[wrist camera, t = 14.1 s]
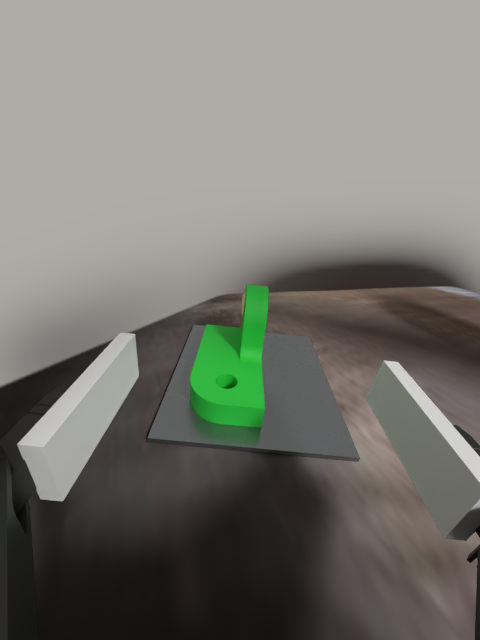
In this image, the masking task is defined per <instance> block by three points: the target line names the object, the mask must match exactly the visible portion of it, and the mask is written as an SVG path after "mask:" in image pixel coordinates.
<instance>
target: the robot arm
mask: <svg viewBox="0 0 480 640" xmlns="http://www.w3.org/2000/svg"><path fill="white" fill-rule="evenodd" d="M138 377H139V371H138V361H137V350H136V339H135V334H130V333H120V334H118V336H117V337H116V338H115V339H114V340H113V341H112V342H111V343H110V344H109V345H108V346H107V347H106V349H105V350H104V351H103V352H102V353H101V354H100V355H99V356H98V357H97V358H96V359H95V360H94V362H93V363H92V364H91V365H90V366H89V367H88V368H87V369H86V370H85V371H84V372H83V373H82V375H81V376H80V377H79V378H78V379H77V380H76V381H75V382H74V383H73V384H72V385H71V386H63V385H60V386H59V387H57V388H55V389H53V390H52V391H50V392H48V393H47V394H46V395H45V396H44V397H43V398H42V399H41V400H40V401H39V402H38V403H37V405H36V406H34V407H33V408H32V409H31V410H30V411H29V412H28V414H26V415H25V416H24V417H23V418H22V419H21V420H20V421H19V422H18V423H17V424H16V425H15V426H14V427H13V428H12V429H11V430H10V431H9V432H8V433H6V434H5V435H4V436H3V437H2V438H1V439H0V640H39V632H38V618H37V604H36V590H35V576H34V562H33V548H32V534H31V520H30V506H29V503H28V500H29V498H30V497H31V495H32V494H33V493H34V491H35V490H37V493H38V495H39V497H40V499H43V500H53V501H64V499H65V497H66V496H67V494H68V492H69V491H70V489H71V487H72V486H73V484H74V482H75V481H76V479H77V478H78V476H79V474H80V473H81V471H82V469H83V468H84V466H85V464H86V463H87V461H88V459H89V458H90V456H91V454H92V453H93V451H94V449H95V448H96V446H97V444H98V443H99V441H100V439H101V438H102V436H103V435H104V433H105V431H106V430H107V428H108V426H109V425H110V423H111V421H112V420H113V418H114V416H115V415H116V413H117V411H118V410H119V408H120V406H121V405H122V403H123V401H124V400H125V398H126V396H127V395H128V393H129V392H130V390H131V388H132V387H133V385H134V383H135V382H136V380H137V378H138ZM367 401H368V403H369V405H370V406H371V408H372V410H373V412H374V414H375V415H376V417H377V419H378V421H379V423H380V424H381V426H382V428H383V430H384V431H385V433H386V435H387V437H388V439H389V440H390V442H391V444H392V446H393V448H394V449H395V451H396V453H397V455H398V457H399V458H400V460H401V462H402V464H403V465H404V467H405V469H406V471H407V473H408V474H409V476H410V478H411V480H412V482H413V483H414V485H415V487H416V489H417V491H418V492H419V494H420V496H421V498H422V499H423V501H424V503H425V505H426V507H427V508H428V510H429V512H430V514H431V516H432V517H433V519H434V521H435V523H436V524H437V526H438V528H439V530H440V532H441V533H442V535H443V537H444V539H454V540H464V541H466V540H467V539H468V538H469V537H470V536H471V535H472V534H473V533H474V532H475V531H476V532H477V534H478V535H479V537H480V446H479V445H478V443H477V442H476V441H475V440H474V439H473V438H472V437H471V436H470V435H469V434H467V433H466V432H465V431H464V430H462V429H461V428H460V427H458V426H457V425H452V424H451V423H450V422H449V421H448V419H447V418H446V417H445V416H444V415H443V414H442V413H441V411H440V410H439V409H438V408H437V407H436V406H435V404H434V403H433V402H432V401H431V400H430V399H429V397H428V396H427V395H426V394H425V393H424V392H423V391H422V389H421V388H420V387H419V386H418V385H417V384H416V382H415V381H414V380H413V379H412V378H411V377H410V376H409V374H408V373H407V372H406V371H405V370H404V369H403V367H402V366H401V365H400V364H399V363H398V362H393V361H384V360H383V363H382V365H381V367H380V370H379V372H378V374H377V377H376V379H375V381H374V384H373V386H372V388H371V391H370V393H369V395H368V398H367ZM476 558H478V565H477V594H476V622H475V640H480V545H479V546H478V547H477V548H476V549H475V550H474V551H472V552H471V553H470V554H469V556H468V558H467V561H469V562H470V563H471V562H472V561H473V560H474V559H476Z"/></svg>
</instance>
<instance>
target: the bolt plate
mask: <svg viewBox="0 0 480 640" xmlns="http://www.w3.org/2000/svg"><path fill="white" fill-rule="evenodd" d="M245 293H246V292H245ZM245 293H243V298H242V307H241V315H240V324H239V328H241V327H242V319H243V310H244V301H245ZM205 328H206V326H202V325H193V328H192V330H191V333H190V335H189V337H188V340H187V342H186V345H185V347H184V350H183V352H182V354H181V357H180V359H179V362H178V364H177V367H176V369H175V372H174V374H173V376H172V379H171V381H170V384H169V386H168V389H167V391H166V394H165V396H164V398H163V401H162V403H161V406H160V408H159V411H158V413H157V415H156V418H155V420H154V423H153V425H152V428H151V430H150V433H149V435H148V437H147V440H148V442H155V443H165V444H176V445H187V446H197V447H208V448H218V449H229V450H240V451H250V452H261V453H272V454H282V455H293V456H303V457H314V458H325V459H335V460H346V461H357V462H358V461H359V459H360V457H359V455H358V452H357V450H356V448H355V445H354V443H353V440H352V438H351V436H350V433H349V431H348V428H347V426H346V424H345V421H344V419H343V416H342V414H341V412H340V409H339V407H338V404H337V402H336V400H335V397H334V395H333V392H332V390H331V388H330V385H329V383H328V380H327V378H326V376H325V373H324V371H323V369H322V366H321V364H320V361H319V359H318V357H317V354H316V352H315V349H314V347H313V345H312V342H311V340H310V337H309V336H299V335H289V334H280V333H270V332H265V336H264V342H263V348H262V376H263V388H264V401H265V412H264V417H263V422H262V428H257V427H246V426H235V425H224V424H217V423H213V422H210V421H207V420H205V419H204V418H202V417H201V416H199V415H198V414H197V413H196V412H195V411H194V409H193V408H192V405H191V402H190V376H191V372H192V369H193V366H194V363H195V360H196V356H197V353H198V350H199V347H200V344H201V340H202V337H203V334H204V331H205Z"/></svg>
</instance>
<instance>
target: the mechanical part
mask: <svg viewBox="0 0 480 640" xmlns="http://www.w3.org/2000/svg"><path fill="white" fill-rule="evenodd" d="M268 301H269V291H268V287H267V286H258V285H247V286H246V293H245V301H244V310H243V319H242V327H241V328H239V327H229V326H219V325H209V324H206V328H205V331H204V334H203V337H202V340H201V344H200V347H199V350H198V353H197V356H196V360H195V363H194V366H193V369H192V372H191V376H190V402H191V405H192V408H193V409H194V411H195V412H196V413H197V414H198V415H199V416H201V417H202V418H204V419H205V420H207V421H210V422H213V423H217V424H224V425H235V426H246V427H257V428H262V422H263V417H264V412H265V401H264V388H263V376H262V348H263V342H264V336H265V329H266V323H267V314H268Z"/></svg>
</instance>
